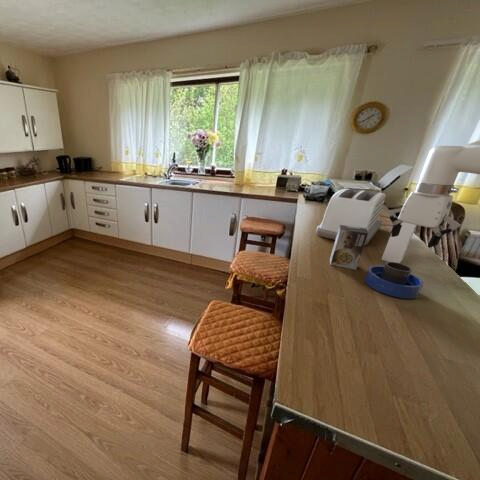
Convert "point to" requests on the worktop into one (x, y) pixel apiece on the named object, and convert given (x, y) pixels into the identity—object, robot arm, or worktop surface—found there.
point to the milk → (399, 243)
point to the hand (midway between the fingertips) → (411, 241)
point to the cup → (396, 273)
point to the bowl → (393, 284)
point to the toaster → (352, 212)
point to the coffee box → (348, 246)
